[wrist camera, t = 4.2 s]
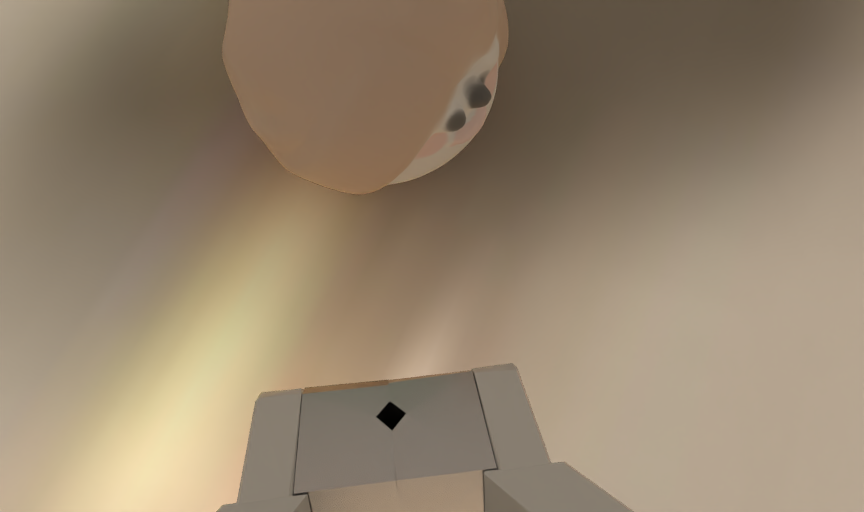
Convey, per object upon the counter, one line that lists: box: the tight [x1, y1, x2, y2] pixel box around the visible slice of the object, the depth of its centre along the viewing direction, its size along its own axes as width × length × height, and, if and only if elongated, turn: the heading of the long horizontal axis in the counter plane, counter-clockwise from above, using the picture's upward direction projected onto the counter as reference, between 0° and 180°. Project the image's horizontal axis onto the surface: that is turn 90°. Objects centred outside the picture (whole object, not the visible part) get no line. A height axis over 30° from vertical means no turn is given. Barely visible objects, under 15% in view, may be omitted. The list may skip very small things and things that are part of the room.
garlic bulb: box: [222, 0, 509, 194], centre depth 14 cm, size 7×6×8 cm
